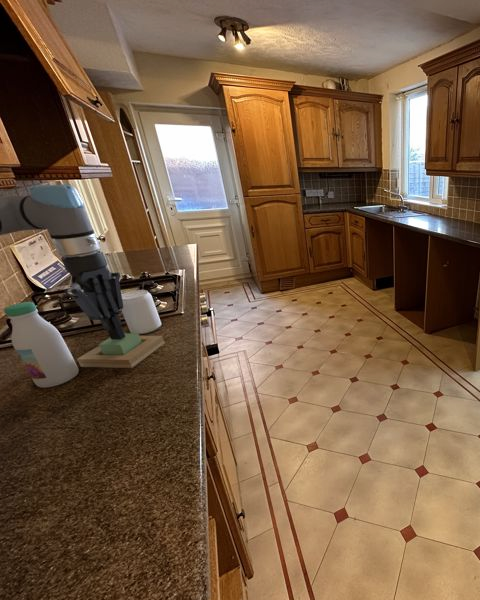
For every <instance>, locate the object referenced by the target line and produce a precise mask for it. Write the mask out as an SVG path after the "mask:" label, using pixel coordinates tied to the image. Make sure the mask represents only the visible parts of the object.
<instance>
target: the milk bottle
mask: <svg viewBox="0 0 480 600" xmlns="http://www.w3.org/2000/svg"><path fill="white" fill-rule="evenodd" d="M3 312H4V314H5V315H6V316H7V319H9V320H10V321H11V324H12V329H11V338H10V339H11V343H12V346H13V348H14V351H15V352H16V354H17V356H18V358H19V359H20V361H21V362H22V364H23V366H24V367H25V370H26V371H27V373H28V374H29V376H30V378H31V380H32V381H33V383H34V384H35V386H37V387H38V388H43V389H44V388H45V389H46V388H52V387H55V386H60V385H62V384H64V383H67V382H68V381H71V380H73V379H74V378H75V377H76V376H77V375H78V374H79V371H80V369H79V367H78V365H77V363H76V360H75V359H74V357H73V355H72V352H71V351H70V348H68V345H67V343H66V341H65V340H64V338H63V336H62V334H61V333H60V332H59V330H58V329H57V328H56V327H55V326H54V324H52V323H50V322H48V321H47V320H45V319H44V317H42V316H41V315H39V313H38V312H39V310H38V309H37V305H35V303H34V302H32V301H24V302H19V303H15V304H10V305H9V306H6V307H5V308H4V309H3Z"/></svg>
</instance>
